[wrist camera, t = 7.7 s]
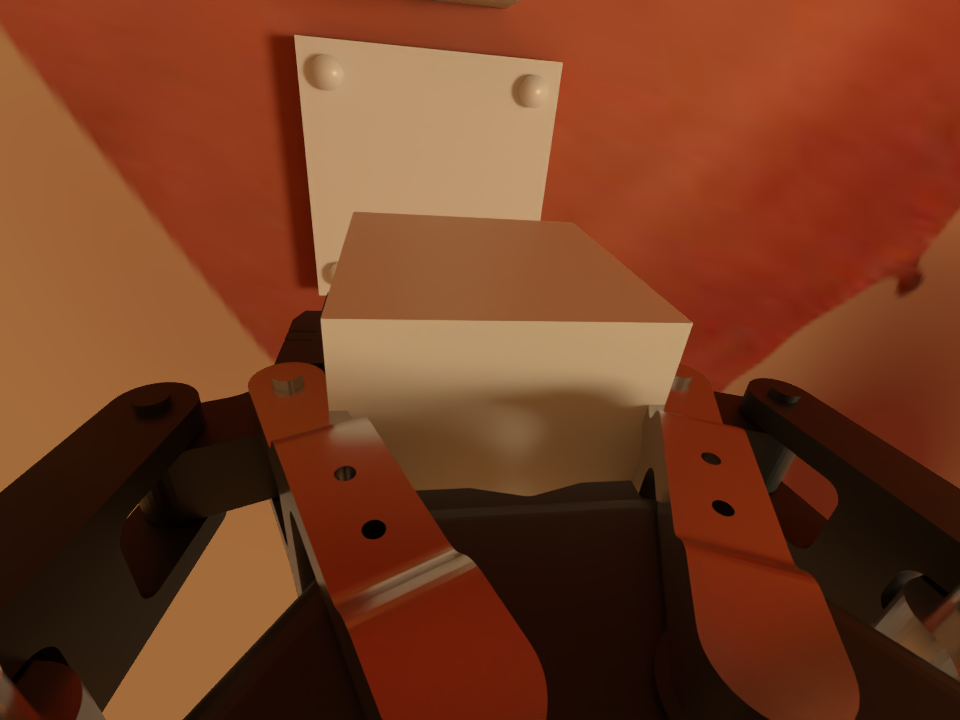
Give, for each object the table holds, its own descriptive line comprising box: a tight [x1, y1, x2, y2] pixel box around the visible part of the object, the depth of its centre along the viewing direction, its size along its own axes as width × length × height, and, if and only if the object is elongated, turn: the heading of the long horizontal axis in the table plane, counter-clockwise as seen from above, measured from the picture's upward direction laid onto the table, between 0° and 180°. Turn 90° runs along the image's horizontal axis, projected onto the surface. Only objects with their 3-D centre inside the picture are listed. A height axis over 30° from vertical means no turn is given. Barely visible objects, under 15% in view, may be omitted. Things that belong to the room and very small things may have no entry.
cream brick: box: [321, 212, 693, 496], centre depth 11 cm, size 6×6×6 cm
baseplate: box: [294, 35, 563, 295], centre depth 29 cm, size 14×14×2 cm
